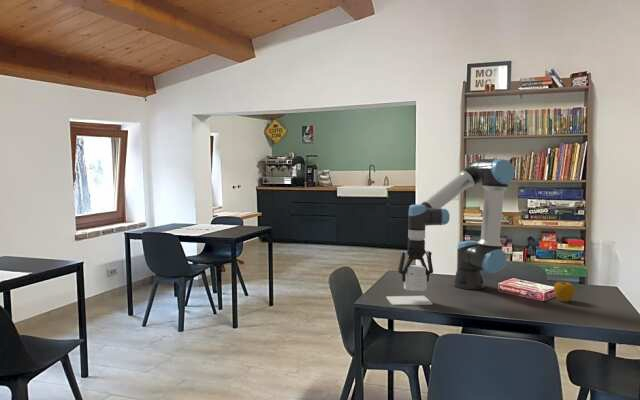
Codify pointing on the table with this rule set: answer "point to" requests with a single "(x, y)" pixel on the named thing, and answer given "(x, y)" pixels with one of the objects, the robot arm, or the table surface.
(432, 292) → the table surface
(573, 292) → the apple
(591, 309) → the table surface
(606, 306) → the table surface
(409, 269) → the small box
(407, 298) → the felt mat
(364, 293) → the table surface
